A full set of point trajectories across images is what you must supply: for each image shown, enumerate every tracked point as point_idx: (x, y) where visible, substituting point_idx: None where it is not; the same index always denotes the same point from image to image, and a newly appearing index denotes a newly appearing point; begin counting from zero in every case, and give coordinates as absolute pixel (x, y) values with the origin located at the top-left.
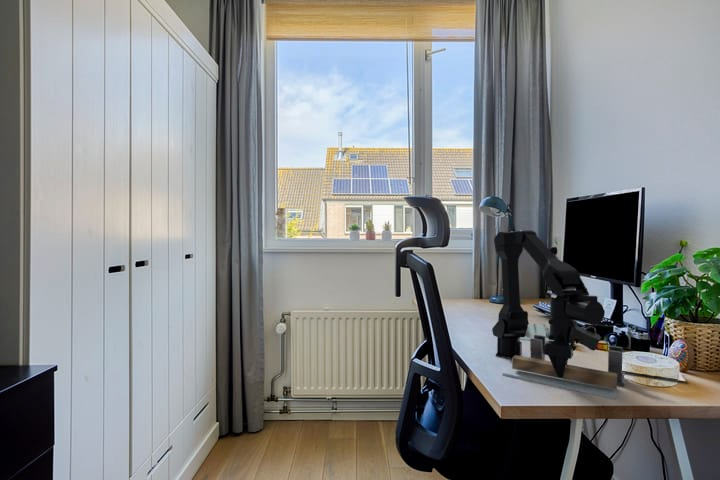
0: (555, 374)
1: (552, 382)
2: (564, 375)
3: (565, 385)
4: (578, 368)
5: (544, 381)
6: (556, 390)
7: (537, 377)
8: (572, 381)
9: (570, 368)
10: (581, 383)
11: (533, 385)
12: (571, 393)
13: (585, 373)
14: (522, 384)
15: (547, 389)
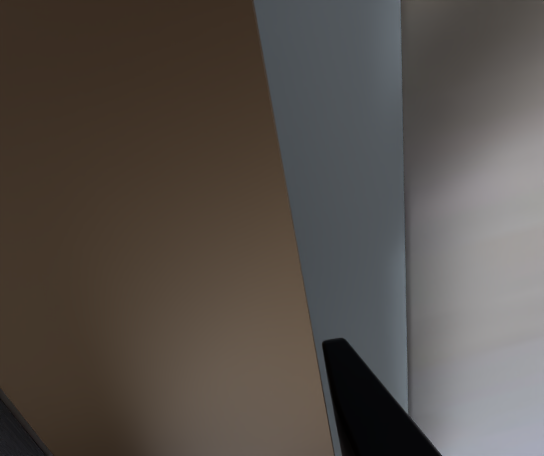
0: (327, 414)
1: (377, 347)
2: (315, 347)
3: (380, 237)
4: (156, 318)
5: (402, 394)
6: (517, 257)
7: (334, 452)
8: None
9: (315, 412)
10: None
11: (495, 406)
12: (529, 113)
13: (266, 81)
14: (519, 450)
15: (535, 316)
